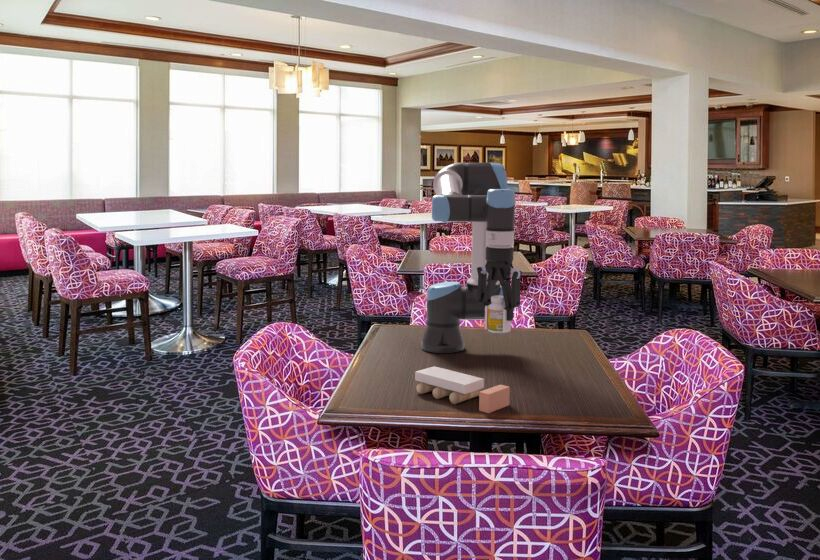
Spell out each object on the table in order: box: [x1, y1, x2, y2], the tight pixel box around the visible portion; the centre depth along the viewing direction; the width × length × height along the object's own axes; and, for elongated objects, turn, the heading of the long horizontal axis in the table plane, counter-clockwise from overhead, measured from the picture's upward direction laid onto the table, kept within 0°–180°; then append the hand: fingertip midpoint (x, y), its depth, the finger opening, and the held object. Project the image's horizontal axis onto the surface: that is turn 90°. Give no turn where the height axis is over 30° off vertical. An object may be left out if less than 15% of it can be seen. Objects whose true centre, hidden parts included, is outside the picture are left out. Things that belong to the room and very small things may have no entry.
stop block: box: [478, 384, 511, 414], centre depth 177 cm, size 3×9×5 cm, turn 137°
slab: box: [414, 366, 485, 394], centre depth 187 cm, size 18×8×2 cm, turn 46°
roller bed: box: [416, 382, 482, 405], centre depth 188 cm, size 15×10×3 cm, turn 46°
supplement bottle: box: [487, 296, 506, 334], centre depth 188 cm, size 5×5×10 cm
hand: (497, 329), depth 188 cm, fingers closed on supplement bottle, 5 cm apart
